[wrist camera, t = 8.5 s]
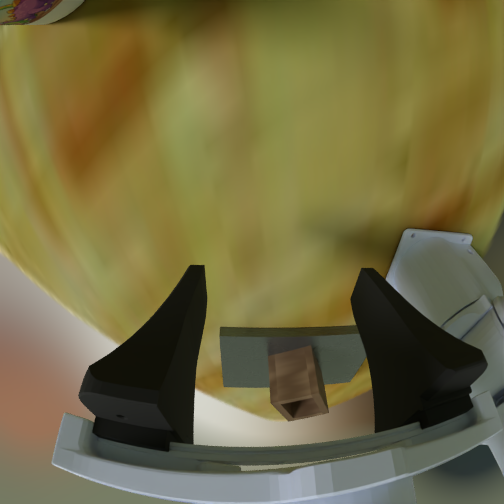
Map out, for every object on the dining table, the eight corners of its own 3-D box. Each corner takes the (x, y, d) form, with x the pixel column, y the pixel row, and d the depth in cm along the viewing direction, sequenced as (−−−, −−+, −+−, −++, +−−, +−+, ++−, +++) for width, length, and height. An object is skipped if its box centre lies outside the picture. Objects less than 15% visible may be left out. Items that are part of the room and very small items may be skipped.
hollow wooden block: (310, 345, 29) (319, 392, 24) (321, 372, 33) (328, 412, 28) (267, 356, 30) (270, 403, 25) (284, 381, 34) (288, 421, 29)
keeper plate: (378, 324, 30) (390, 358, 25) (348, 375, 37) (355, 404, 33) (220, 327, 29) (217, 367, 25) (224, 379, 36) (222, 411, 32)
